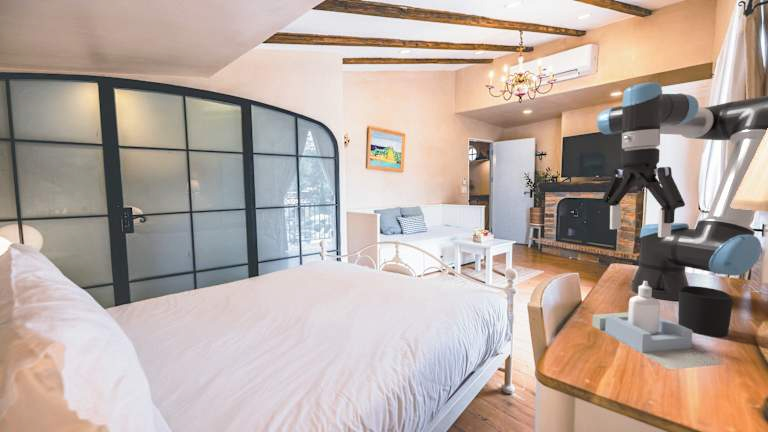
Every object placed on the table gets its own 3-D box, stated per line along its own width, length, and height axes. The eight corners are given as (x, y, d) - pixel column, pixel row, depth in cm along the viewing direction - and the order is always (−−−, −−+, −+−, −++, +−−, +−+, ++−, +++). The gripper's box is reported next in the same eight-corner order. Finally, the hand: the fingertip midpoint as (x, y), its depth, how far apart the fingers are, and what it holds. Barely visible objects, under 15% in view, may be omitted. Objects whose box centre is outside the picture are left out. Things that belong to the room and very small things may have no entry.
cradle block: (649, 328, 81) (650, 312, 81) (691, 347, 71) (692, 330, 71) (605, 331, 80) (605, 315, 80) (641, 352, 70) (642, 334, 70)
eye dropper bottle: (658, 338, 73) (661, 285, 72) (627, 331, 76) (630, 281, 75) (657, 331, 76) (661, 280, 75) (627, 325, 80) (630, 277, 79)
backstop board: (638, 324, 85) (638, 311, 85) (727, 366, 65) (728, 350, 65) (592, 328, 83) (592, 314, 83) (669, 372, 64) (670, 355, 63)
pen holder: (741, 338, 77) (744, 297, 76) (708, 342, 75) (711, 300, 74) (696, 321, 86) (699, 284, 85) (666, 325, 84) (669, 287, 83)
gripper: (588, 154, 94) (587, 227, 96) (679, 143, 69) (675, 242, 71) (611, 152, 95) (609, 225, 97) (709, 142, 70) (704, 239, 73)
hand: (637, 232), depth 84 cm, fingers open, 13 cm apart
